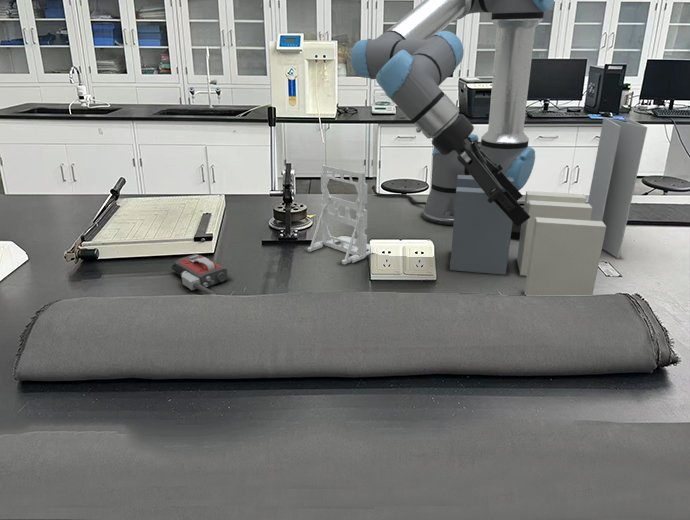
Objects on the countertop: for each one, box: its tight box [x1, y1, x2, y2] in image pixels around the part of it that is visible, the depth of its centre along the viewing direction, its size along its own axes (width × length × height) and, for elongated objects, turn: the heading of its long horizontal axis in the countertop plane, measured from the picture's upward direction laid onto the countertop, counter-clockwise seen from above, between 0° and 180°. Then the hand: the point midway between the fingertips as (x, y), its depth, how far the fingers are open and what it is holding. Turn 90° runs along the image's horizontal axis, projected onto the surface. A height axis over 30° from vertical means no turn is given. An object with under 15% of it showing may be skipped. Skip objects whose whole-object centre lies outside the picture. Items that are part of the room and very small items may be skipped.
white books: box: [516, 190, 592, 277], centre depth 115 cm, size 9×12×16 cm
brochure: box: [587, 117, 648, 259], centre depth 125 cm, size 14×6×30 cm, turn 168°
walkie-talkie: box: [170, 253, 228, 295], centre depth 111 cm, size 9×4×20 cm
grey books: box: [449, 175, 514, 276], centre depth 118 cm, size 10×12×19 cm
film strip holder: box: [306, 164, 371, 266], centre depth 125 cm, size 14×14×20 cm
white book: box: [523, 217, 606, 296], centre depth 102 cm, size 3×12×16 cm, turn 78°
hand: (520, 210), depth 100 cm, fingers open, 13 cm apart
